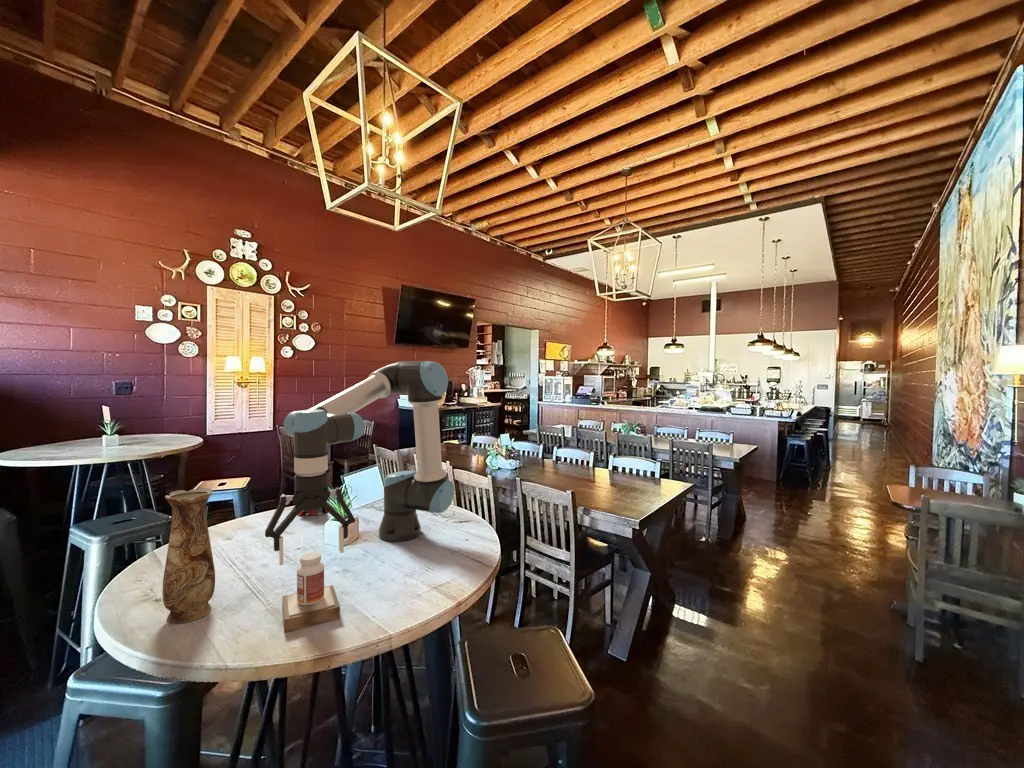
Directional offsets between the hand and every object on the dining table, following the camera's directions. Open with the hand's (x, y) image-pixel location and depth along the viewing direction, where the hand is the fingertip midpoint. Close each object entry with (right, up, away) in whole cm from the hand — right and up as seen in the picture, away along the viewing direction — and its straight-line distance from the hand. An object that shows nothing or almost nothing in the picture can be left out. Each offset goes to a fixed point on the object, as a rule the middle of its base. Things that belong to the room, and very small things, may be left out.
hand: (312, 556), depth 108 cm
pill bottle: (0, -11, 0) cm, 11 cm away
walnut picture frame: (0, -14, 0) cm, 14 cm away
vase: (-30, -14, -1) cm, 33 cm away
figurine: (-34, -12, +74) cm, 82 cm away
